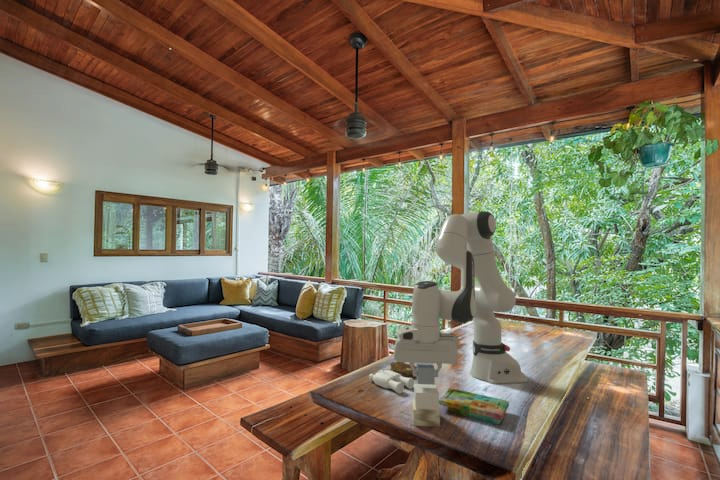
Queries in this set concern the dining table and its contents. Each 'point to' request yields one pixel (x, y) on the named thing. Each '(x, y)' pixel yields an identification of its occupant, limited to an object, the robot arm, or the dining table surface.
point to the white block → (426, 397)
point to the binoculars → (391, 380)
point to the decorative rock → (403, 369)
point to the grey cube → (425, 373)
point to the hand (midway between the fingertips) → (425, 376)
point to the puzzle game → (475, 405)
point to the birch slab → (425, 416)
